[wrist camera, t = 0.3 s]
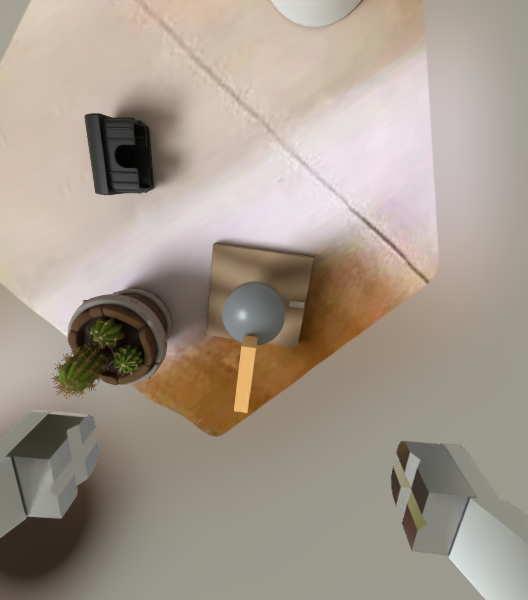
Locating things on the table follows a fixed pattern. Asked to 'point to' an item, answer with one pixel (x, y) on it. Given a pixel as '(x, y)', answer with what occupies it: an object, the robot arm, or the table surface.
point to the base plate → (261, 268)
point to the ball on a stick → (252, 328)
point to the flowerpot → (115, 340)
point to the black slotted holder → (119, 154)
